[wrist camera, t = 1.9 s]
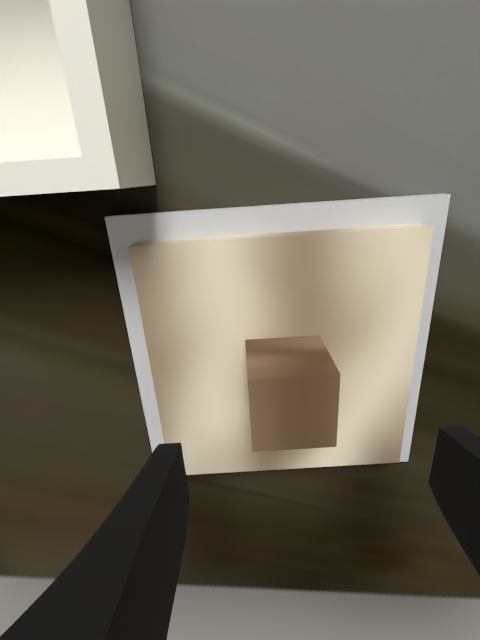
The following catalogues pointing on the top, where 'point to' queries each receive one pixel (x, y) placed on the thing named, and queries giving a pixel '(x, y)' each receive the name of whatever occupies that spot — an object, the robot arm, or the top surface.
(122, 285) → the mat
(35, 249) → the top surface
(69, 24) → the white box
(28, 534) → the top surface
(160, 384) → the lid
